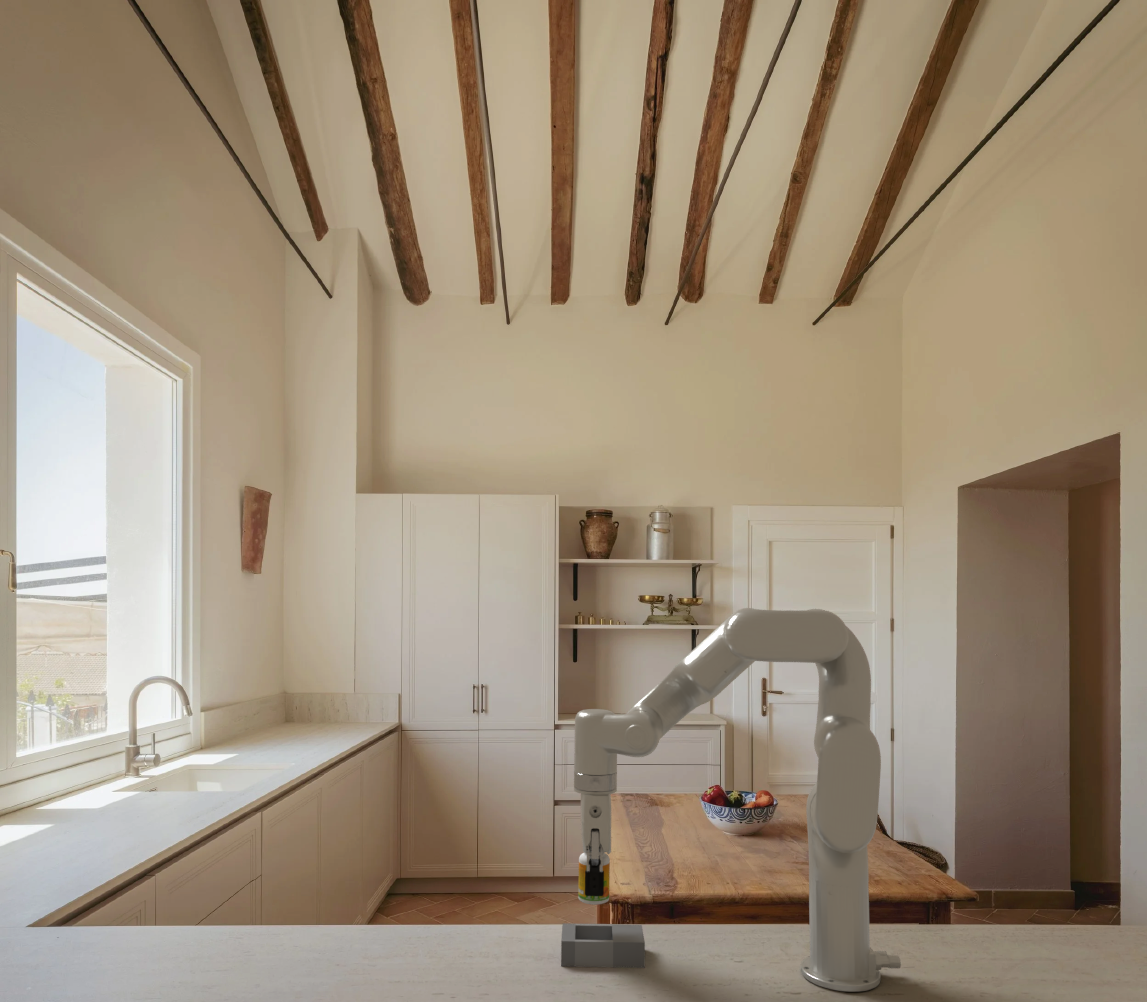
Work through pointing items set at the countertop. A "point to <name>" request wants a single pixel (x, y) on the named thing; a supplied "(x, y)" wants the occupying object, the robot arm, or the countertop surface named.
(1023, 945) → the countertop surface
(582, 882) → the supplement bottle
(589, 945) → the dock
